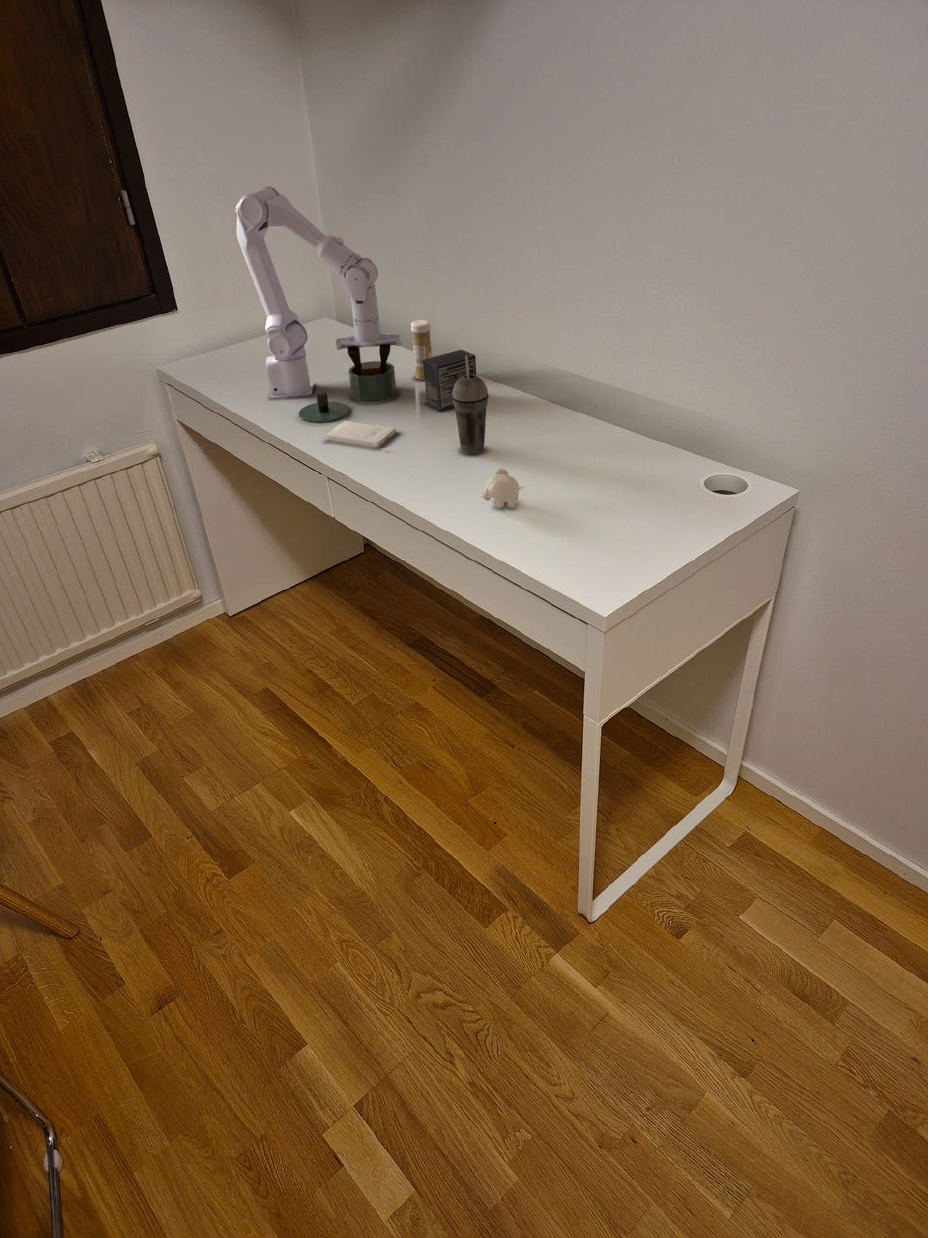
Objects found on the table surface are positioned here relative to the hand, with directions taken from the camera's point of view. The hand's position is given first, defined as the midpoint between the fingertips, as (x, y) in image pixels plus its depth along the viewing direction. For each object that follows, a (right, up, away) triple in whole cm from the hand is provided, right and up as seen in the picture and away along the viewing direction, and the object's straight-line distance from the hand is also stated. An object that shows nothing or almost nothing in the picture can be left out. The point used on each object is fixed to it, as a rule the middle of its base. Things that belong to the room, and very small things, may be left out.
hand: (372, 377), depth 200 cm
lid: (-10, -10, -6) cm, 15 cm away
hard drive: (0, -18, -17) cm, 25 cm away
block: (0, -1, +1) cm, 1 cm away
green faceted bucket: (0, -4, +3) cm, 4 cm away
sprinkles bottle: (+12, +3, +11) cm, 16 cm away
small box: (+19, -6, -3) cm, 20 cm away
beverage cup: (+23, -22, -25) cm, 40 cm away
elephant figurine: (+28, -35, -44) cm, 63 cm away
